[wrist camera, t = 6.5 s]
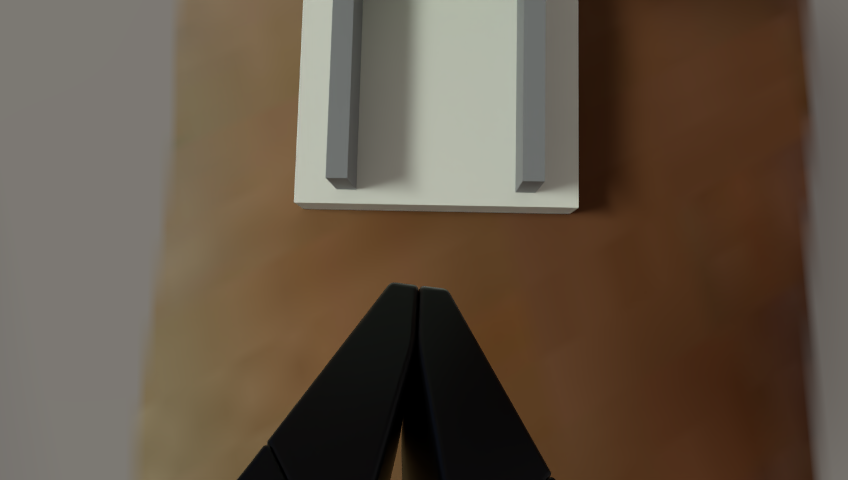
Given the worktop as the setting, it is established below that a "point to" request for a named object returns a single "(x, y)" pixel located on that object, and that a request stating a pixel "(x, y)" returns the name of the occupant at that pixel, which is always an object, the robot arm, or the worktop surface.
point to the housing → (439, 106)
